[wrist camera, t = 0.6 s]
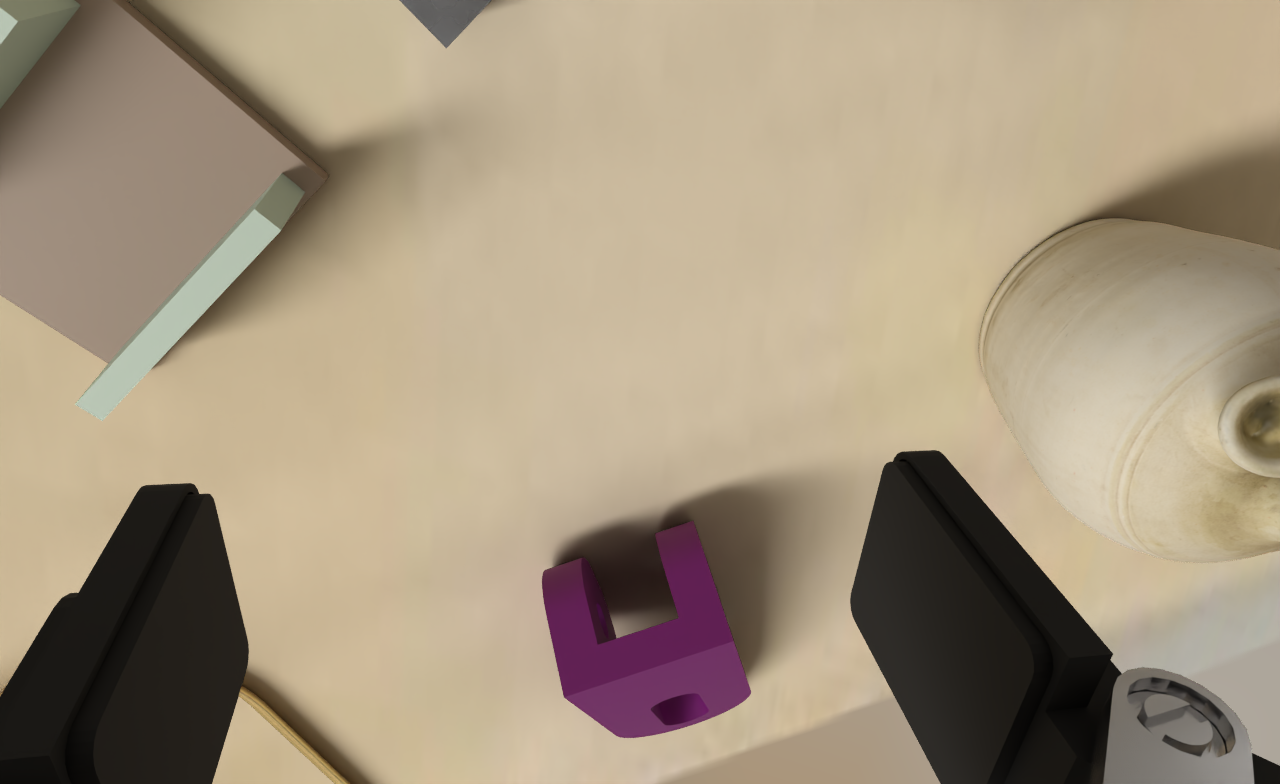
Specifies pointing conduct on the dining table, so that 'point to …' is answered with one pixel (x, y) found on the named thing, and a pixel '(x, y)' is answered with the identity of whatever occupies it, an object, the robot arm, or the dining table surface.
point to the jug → (1146, 384)
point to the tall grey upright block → (445, 16)
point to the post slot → (128, 183)
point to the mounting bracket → (646, 647)
